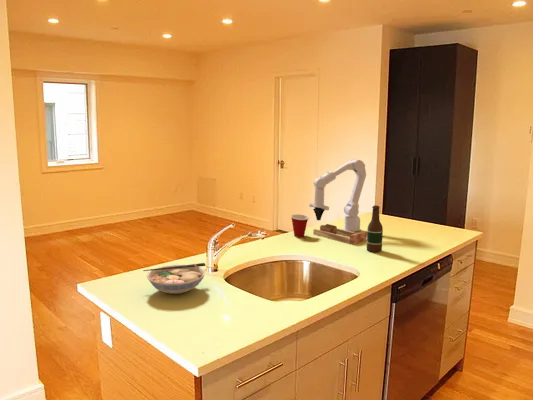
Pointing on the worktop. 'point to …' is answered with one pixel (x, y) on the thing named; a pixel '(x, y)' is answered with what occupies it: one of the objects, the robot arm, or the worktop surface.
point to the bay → (352, 240)
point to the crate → (329, 228)
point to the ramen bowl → (176, 277)
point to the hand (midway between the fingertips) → (318, 220)
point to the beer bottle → (374, 232)
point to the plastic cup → (299, 224)
